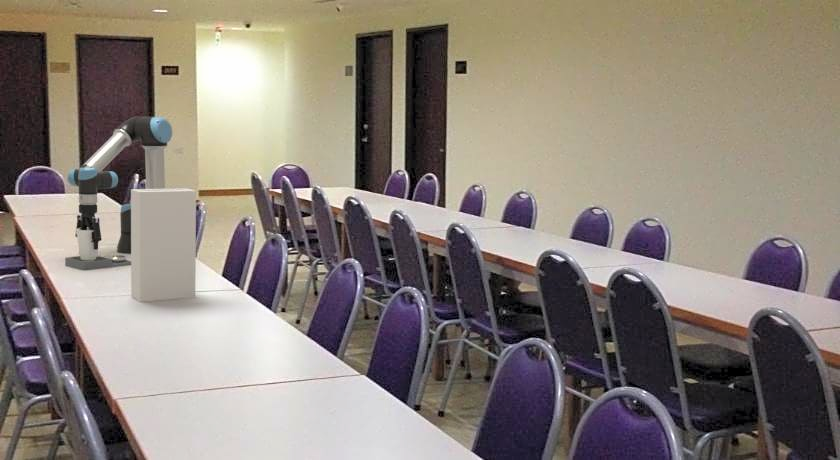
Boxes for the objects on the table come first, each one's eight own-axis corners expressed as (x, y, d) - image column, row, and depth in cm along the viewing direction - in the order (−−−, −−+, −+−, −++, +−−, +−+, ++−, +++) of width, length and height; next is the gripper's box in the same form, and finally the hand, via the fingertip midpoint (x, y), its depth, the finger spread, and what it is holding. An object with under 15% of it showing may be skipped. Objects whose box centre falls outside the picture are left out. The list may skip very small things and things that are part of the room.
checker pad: (118, 258, 430) (118, 253, 430) (129, 260, 424) (129, 256, 424) (100, 260, 423) (100, 255, 423) (111, 262, 417) (111, 258, 417)
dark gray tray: (116, 259, 433) (116, 252, 432) (135, 264, 423) (135, 256, 423) (65, 265, 414) (65, 257, 413) (84, 270, 404) (83, 262, 404)
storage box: (140, 302, 345) (139, 191, 340) (131, 296, 354) (130, 189, 349) (195, 297, 357) (196, 190, 352) (185, 292, 366) (186, 188, 361)
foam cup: (92, 261, 408) (91, 231, 406) (72, 259, 410) (72, 229, 408) (103, 257, 417) (103, 228, 415) (84, 256, 419) (84, 227, 417)
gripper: (66, 201, 415) (66, 253, 417) (94, 206, 401) (94, 259, 403) (82, 201, 420) (82, 251, 423) (110, 205, 406) (110, 257, 409)
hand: (88, 255), depth 413 cm, fingers closed on foam cup, 9 cm apart
